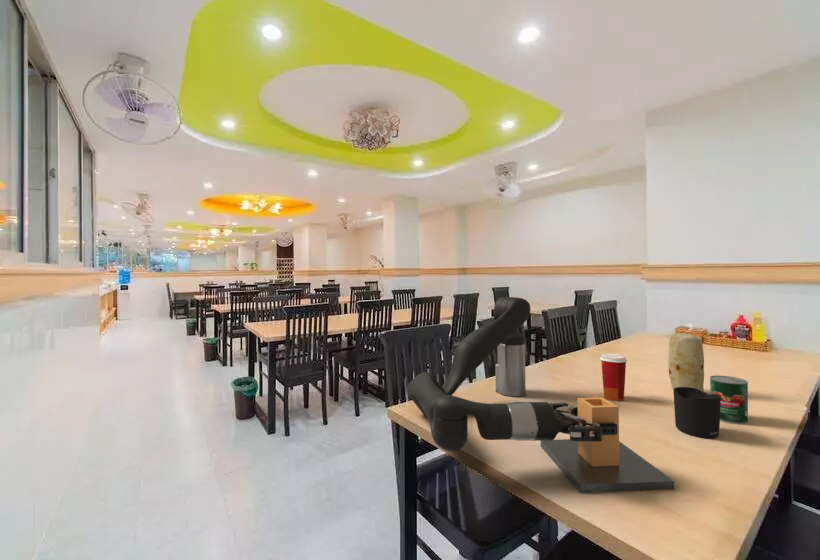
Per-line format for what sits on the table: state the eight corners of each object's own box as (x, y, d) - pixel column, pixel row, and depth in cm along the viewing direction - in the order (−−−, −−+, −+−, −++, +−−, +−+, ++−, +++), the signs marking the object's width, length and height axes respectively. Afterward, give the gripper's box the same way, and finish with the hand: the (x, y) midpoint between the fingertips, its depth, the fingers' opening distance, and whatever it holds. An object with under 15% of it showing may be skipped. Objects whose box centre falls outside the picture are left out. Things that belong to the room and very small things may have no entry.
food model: (706, 393, 118) (705, 334, 118) (701, 398, 114) (701, 336, 114) (671, 387, 126) (670, 331, 126) (665, 391, 122) (665, 333, 121)
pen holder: (681, 436, 87) (680, 396, 87) (668, 421, 96) (668, 385, 96) (728, 442, 84) (728, 400, 84) (711, 426, 93) (710, 388, 93)
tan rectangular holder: (592, 466, 71) (591, 407, 71) (578, 452, 77) (577, 398, 77) (619, 465, 72) (618, 406, 72) (603, 451, 77) (602, 397, 77)
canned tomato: (717, 422, 96) (717, 381, 95) (704, 411, 103) (704, 374, 103) (755, 426, 93) (754, 384, 93) (739, 415, 100) (738, 376, 100)
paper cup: (620, 394, 119) (619, 353, 119) (632, 402, 111) (631, 358, 111) (596, 394, 120) (595, 353, 119) (606, 402, 112) (605, 358, 112)
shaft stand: (580, 492, 65) (580, 443, 65) (540, 446, 83) (540, 407, 83) (674, 489, 66) (673, 440, 66) (614, 443, 84) (614, 405, 84)
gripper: (516, 425, 81) (585, 424, 81) (542, 455, 66) (625, 454, 67) (516, 392, 81) (585, 391, 81) (542, 416, 66) (625, 415, 67)
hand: (603, 420), depth 74 cm, fingers open, 8 cm apart
